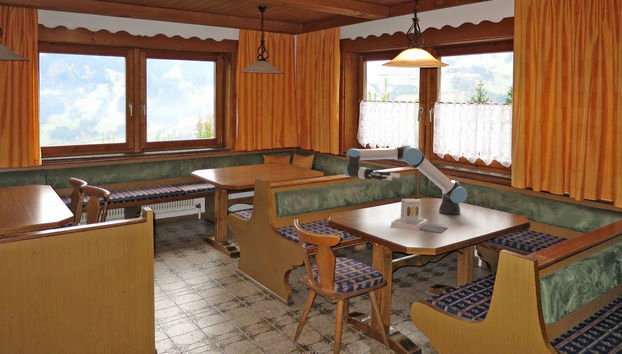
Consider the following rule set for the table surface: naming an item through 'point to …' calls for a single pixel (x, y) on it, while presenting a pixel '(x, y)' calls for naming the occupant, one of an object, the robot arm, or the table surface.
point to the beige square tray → (408, 226)
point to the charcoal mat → (434, 228)
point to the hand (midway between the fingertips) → (395, 177)
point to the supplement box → (410, 211)
